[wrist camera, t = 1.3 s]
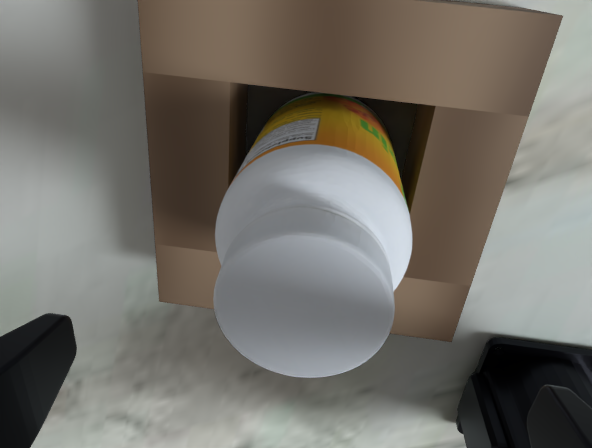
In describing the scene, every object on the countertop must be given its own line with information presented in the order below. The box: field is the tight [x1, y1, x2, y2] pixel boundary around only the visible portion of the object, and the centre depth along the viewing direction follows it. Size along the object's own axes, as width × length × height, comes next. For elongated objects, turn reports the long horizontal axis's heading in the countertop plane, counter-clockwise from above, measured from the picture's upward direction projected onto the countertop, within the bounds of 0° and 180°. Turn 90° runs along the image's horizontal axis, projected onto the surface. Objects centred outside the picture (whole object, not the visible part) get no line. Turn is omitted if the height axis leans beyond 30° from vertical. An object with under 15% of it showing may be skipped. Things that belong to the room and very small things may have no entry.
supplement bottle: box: [213, 92, 412, 378], centre depth 14 cm, size 5×5×10 cm
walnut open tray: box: [138, 0, 563, 342], centre depth 17 cm, size 12×12×3 cm
